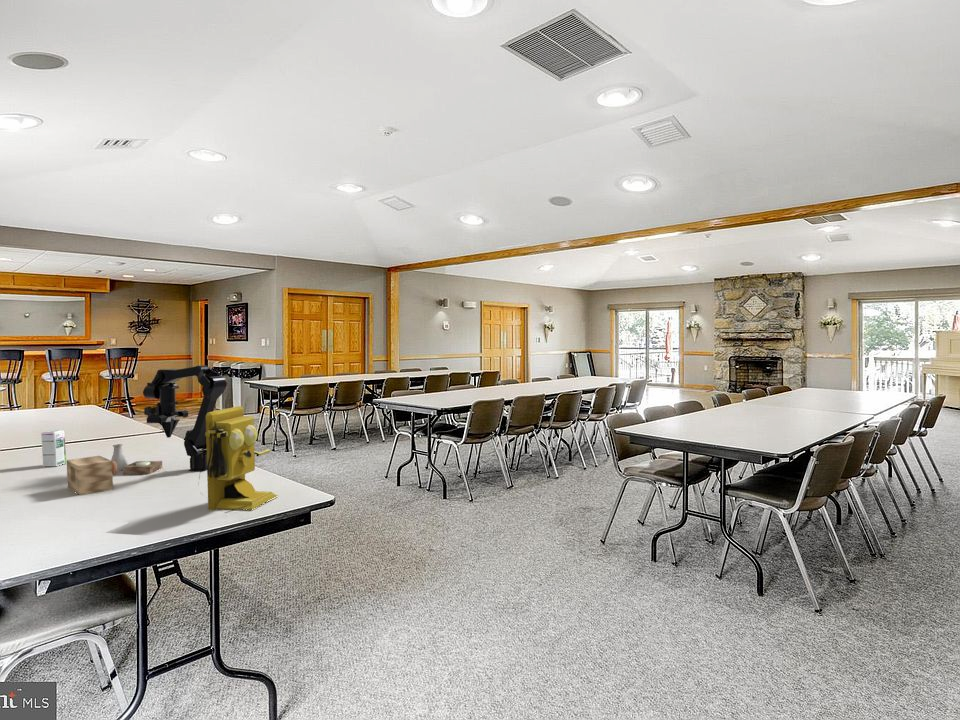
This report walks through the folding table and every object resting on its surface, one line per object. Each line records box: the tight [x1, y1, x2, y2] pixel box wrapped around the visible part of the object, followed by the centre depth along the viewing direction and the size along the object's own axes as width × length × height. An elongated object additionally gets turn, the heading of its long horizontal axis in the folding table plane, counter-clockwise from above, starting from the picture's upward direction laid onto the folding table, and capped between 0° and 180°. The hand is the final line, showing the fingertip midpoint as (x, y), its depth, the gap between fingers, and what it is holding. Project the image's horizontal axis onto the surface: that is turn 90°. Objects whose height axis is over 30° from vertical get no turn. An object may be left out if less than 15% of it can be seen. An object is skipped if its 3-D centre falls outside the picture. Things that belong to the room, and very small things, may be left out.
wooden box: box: [66, 455, 114, 496], centre depth 203 cm, size 10×14×10 cm
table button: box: [136, 462, 150, 466], centre depth 229 cm, size 5×5×3 cm
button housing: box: [122, 460, 163, 475], centre depth 229 cm, size 10×10×3 cm
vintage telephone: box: [198, 405, 279, 514], centre depth 183 cm, size 31×14×30 cm, turn 170°
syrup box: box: [40, 429, 67, 468], centre depth 241 cm, size 6×6×14 cm
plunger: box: [112, 461, 118, 476], centre depth 206 cm, size 8×5×5 cm, turn 139°
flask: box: [110, 443, 129, 471], centre depth 233 cm, size 7×7×10 cm
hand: (168, 437), depth 237 cm, fingers closed
